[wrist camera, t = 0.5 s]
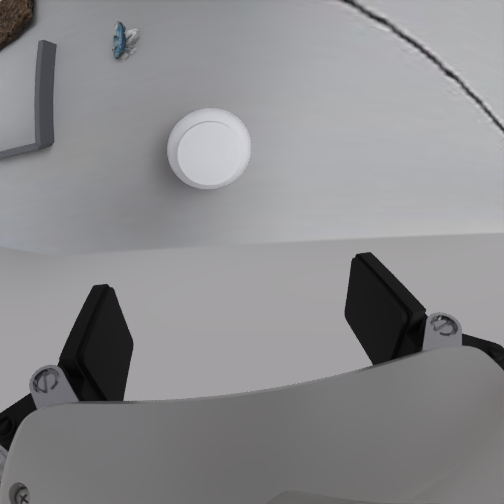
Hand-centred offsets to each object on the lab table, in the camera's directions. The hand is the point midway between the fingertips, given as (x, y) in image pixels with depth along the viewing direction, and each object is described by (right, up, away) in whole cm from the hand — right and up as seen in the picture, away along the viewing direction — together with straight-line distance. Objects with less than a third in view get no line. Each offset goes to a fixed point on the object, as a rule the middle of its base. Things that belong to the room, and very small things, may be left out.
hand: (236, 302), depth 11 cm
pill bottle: (-5, +16, +25) cm, 30 cm away
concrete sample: (-35, +37, +10) cm, 52 cm away
